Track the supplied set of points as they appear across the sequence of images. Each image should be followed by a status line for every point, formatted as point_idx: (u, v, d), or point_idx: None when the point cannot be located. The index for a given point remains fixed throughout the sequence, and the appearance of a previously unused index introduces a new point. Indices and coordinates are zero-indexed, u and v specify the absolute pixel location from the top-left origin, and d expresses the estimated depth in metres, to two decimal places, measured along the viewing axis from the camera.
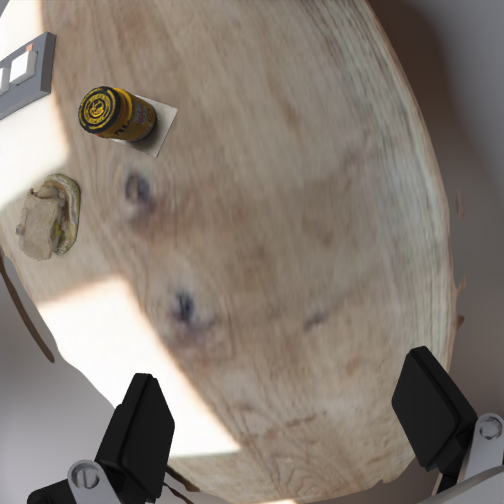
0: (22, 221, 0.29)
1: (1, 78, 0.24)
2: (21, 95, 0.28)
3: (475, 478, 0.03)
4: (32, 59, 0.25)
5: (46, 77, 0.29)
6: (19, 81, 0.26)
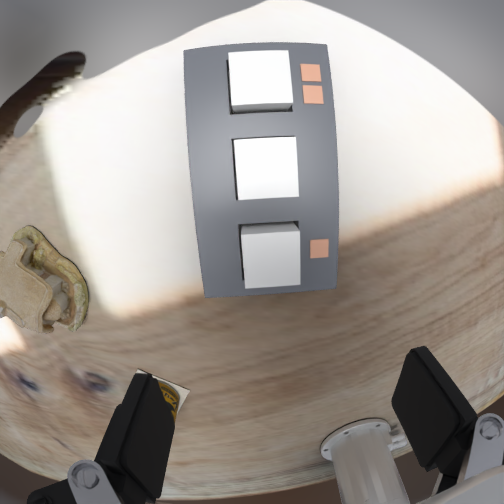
0: (9, 317, 0.19)
1: (265, 196, 0.20)
2: (209, 246, 0.24)
3: (475, 478, 0.03)
4: None
5: None
6: None
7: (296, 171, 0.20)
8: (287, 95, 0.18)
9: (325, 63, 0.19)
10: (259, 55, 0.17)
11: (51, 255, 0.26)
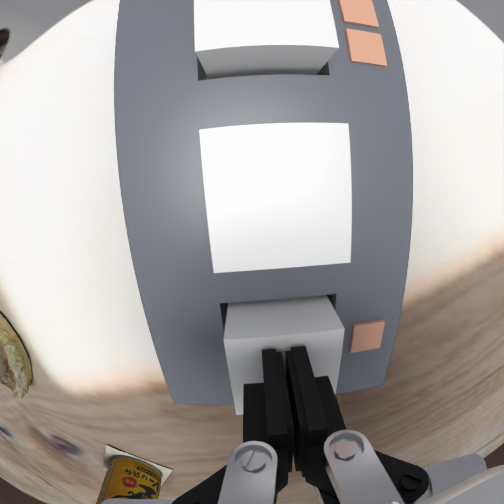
0: None
1: (277, 264, 0.09)
2: (170, 337, 0.12)
3: (475, 478, 0.03)
4: None
5: None
6: None
7: (348, 205, 0.08)
8: (326, 32, 0.06)
9: (381, 1, 0.07)
10: None
11: None
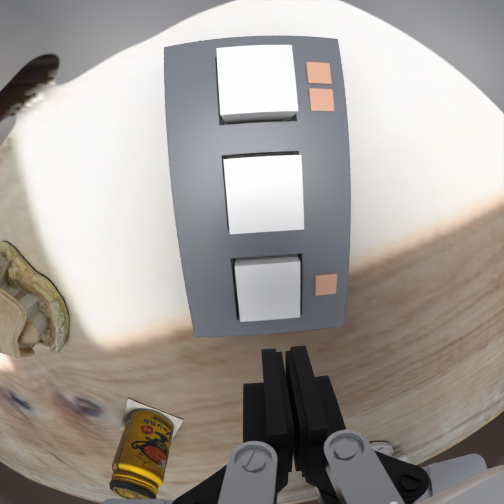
0: None
1: (263, 229, 0.17)
2: (197, 283, 0.20)
3: (475, 478, 0.03)
4: None
5: None
6: None
7: (301, 198, 0.16)
8: (291, 101, 0.14)
9: (336, 61, 0.15)
10: (255, 51, 0.13)
11: (26, 272, 0.22)
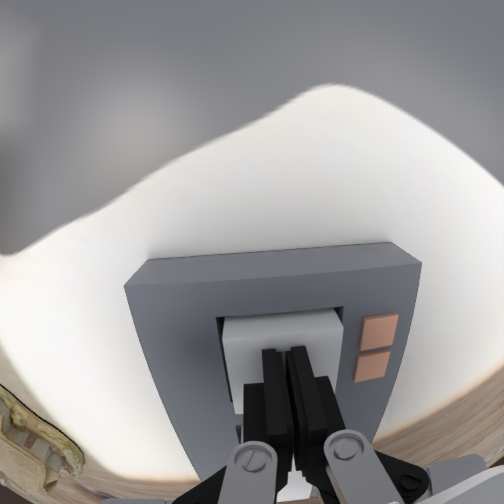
0: (13, 486, 0.11)
1: None
2: None
3: (475, 478, 0.03)
4: None
5: None
6: None
7: None
8: None
9: (408, 305, 0.11)
10: (285, 344, 0.10)
11: (30, 419, 0.17)
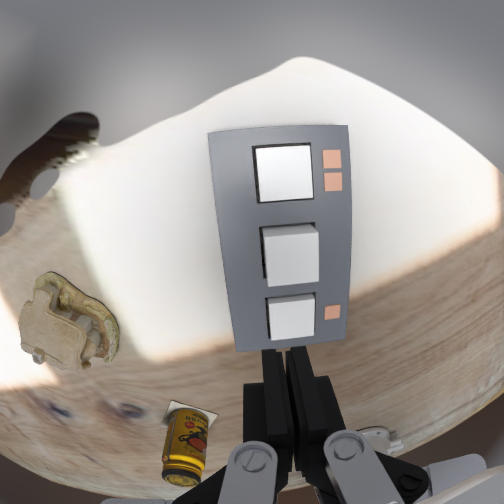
0: (49, 362, 0.23)
1: (291, 283, 0.24)
2: (240, 315, 0.27)
3: (475, 478, 0.03)
4: None
5: None
6: None
7: (317, 261, 0.23)
8: (308, 191, 0.23)
9: (345, 147, 0.22)
10: (284, 152, 0.22)
11: (77, 297, 0.29)
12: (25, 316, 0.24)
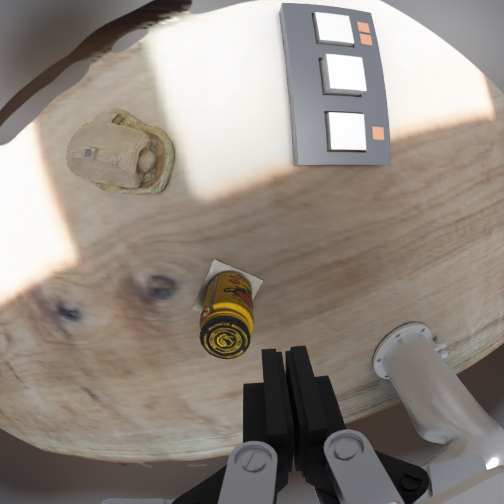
0: (101, 156, 0.24)
1: (347, 88, 0.26)
2: (304, 124, 0.29)
3: (475, 478, 0.03)
4: None
5: None
6: (325, 122, 0.30)
7: (364, 76, 0.25)
8: (351, 39, 0.25)
9: (371, 23, 0.24)
10: (333, 16, 0.24)
11: (138, 125, 0.31)
12: (81, 132, 0.26)
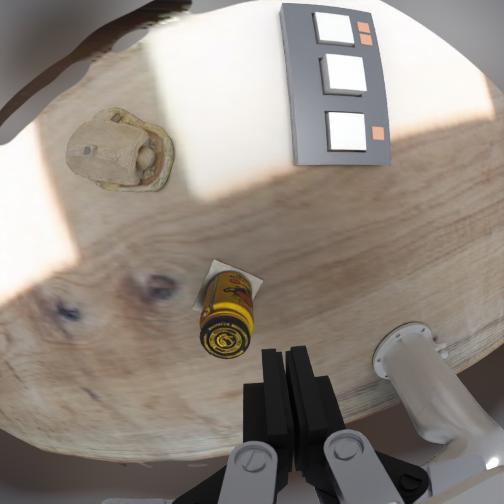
0: (100, 154, 0.24)
1: (347, 88, 0.26)
2: (304, 124, 0.29)
3: (475, 478, 0.03)
4: None
5: None
6: (325, 122, 0.30)
7: (364, 76, 0.25)
8: (351, 39, 0.25)
9: (371, 23, 0.24)
10: (333, 16, 0.24)
11: (137, 123, 0.31)
12: (80, 130, 0.26)
